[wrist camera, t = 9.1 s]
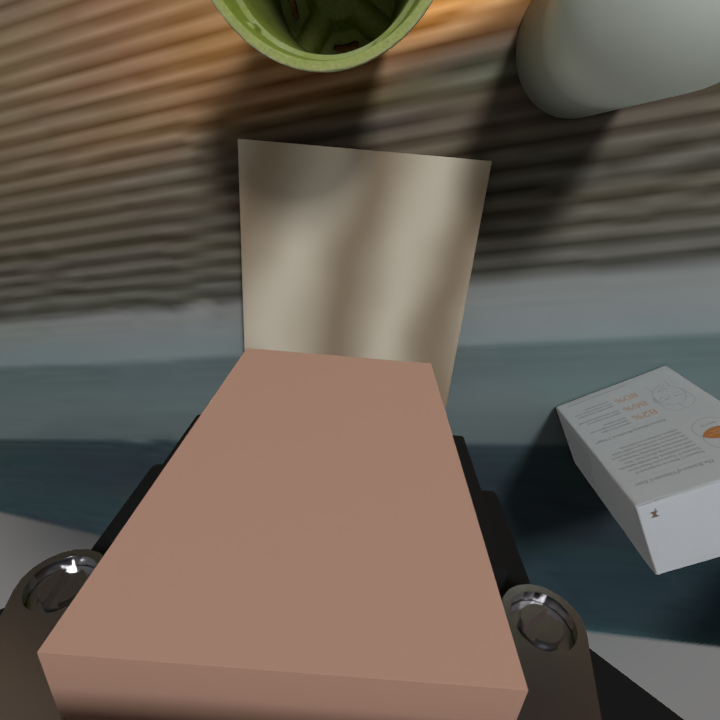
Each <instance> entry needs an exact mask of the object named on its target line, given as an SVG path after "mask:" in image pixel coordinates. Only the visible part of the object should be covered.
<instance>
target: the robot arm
mask: <svg viewBox="0 0 720 720" xmlns="http://www.w3.org/2000/svg"><path fill="white" fill-rule="evenodd" d="M200 416H201V415H197V416H196V418H195V419H194V420H193V422H192V423H191V425H190V426H189V428H188V429H187V430H186V432H185V433H184V435H183V436H182V438H181V439H180V440H179V442H178V443H177V445H176V446H175V447H174V449H173V450H172V452H171V453H170V455H169V456H168V457H167V459H166V460H165V462H164V463H163V465H162V464H157V465H154V466H153V467H152V468H151V469H150V470H149V472H148V473H147V474H146V476H145V477H144V478H143V480H142V481H141V482H140V484H139V485H138V487H137V488H136V489H135V491H134V492H133V493H132V495H131V496H130V497H129V499H128V500H127V502H126V503H125V504H124V506H123V507H122V508H121V510H120V511H119V512H118V514H117V515H116V517H115V518H114V519H113V521H112V522H111V523H110V525H109V526H108V527H107V529H106V530H105V532H104V533H103V534H102V536H101V537H100V538H99V540H98V541H97V542H96V544H95V545H94V547H93V548H92V549H91V550H89V549H84V550H83V549H80V550H72V551H67V552H63V553H60V554H58V555H55V556H53V557H50V558H48V559H46V560H45V561H43V562H41V563H40V564H38V565H37V566H35V567H34V568H33V569H31V570H30V571H29V572H28V573H27V574H26V575H25V576H24V577H23V578H22V579H21V580H20V582H19V583H18V584H17V586H16V587H15V589H14V590H13V592H12V594H11V596H10V598H9V600H8V602H7V604H6V606H5V608H3V609H1V610H0V720H66V717H60V715H59V712H58V709H57V707H56V704H55V701H54V698H53V695H52V693H51V690H50V687H49V684H48V682H47V679H46V676H45V673H44V671H43V668H42V665H41V662H40V660H39V657H38V654H37V652H38V650H39V649H40V647H41V646H42V644H43V643H44V642H45V640H46V639H47V637H48V636H49V634H50V633H51V631H52V630H53V629H54V627H55V626H56V624H57V623H58V621H59V620H60V618H61V617H62V615H63V614H64V613H65V611H66V610H67V608H68V607H69V605H70V604H71V602H72V601H73V600H74V598H75V597H76V595H77V594H78V592H79V591H80V589H81V588H82V586H83V585H84V584H85V582H86V581H87V579H88V578H89V576H90V575H91V573H92V572H93V571H94V569H95V568H96V566H97V565H98V563H99V562H100V560H101V559H102V558H103V556H104V555H105V553H106V552H107V550H108V549H109V547H110V546H111V544H112V543H113V542H114V540H115V539H116V537H117V536H118V534H119V533H120V531H121V530H122V529H123V527H124V526H125V524H126V523H127V521H128V520H129V518H130V517H131V516H132V514H133V513H134V511H135V510H136V508H137V507H138V505H139V504H140V502H141V501H142V500H143V498H144V497H145V495H146V494H147V492H148V491H149V489H150V488H151V487H152V485H153V484H154V482H155V481H156V479H157V478H158V476H159V475H160V474H161V472H162V471H163V469H164V468H165V466H166V465H167V463H168V462H169V460H170V459H171V458H172V456H173V455H174V453H175V452H176V450H177V449H178V447H179V446H180V445H181V443H182V442H183V440H184V439H185V437H186V436H187V434H188V433H189V431H190V430H191V429H192V427H193V426H194V424H195V423H196V421H197V420H198V418H199V417H200ZM452 436H453V439H454V442H455V446H456V449H457V452H458V456H459V459H460V462H461V466H462V469H463V473H464V476H465V479H466V483H467V486H468V489H469V493H470V496H471V499H472V503H473V506H474V509H475V513H476V516H477V520H478V523H479V526H480V530H481V533H482V536H483V540H484V543H485V546H486V550H487V553H488V557H489V560H490V563H491V567H492V570H493V573H494V577H495V580H496V583H497V587H498V590H499V593H500V597H501V600H502V604H503V607H504V610H505V614H506V617H507V620H508V624H509V627H510V630H511V634H512V637H513V640H514V644H515V647H516V651H517V654H518V657H519V661H520V664H521V667H522V671H523V674H524V677H525V681H526V684H527V688H528V693H527V695H526V698H525V700H524V703H523V705H522V708H521V710H520V713H519V715H518V717H517V720H683V719H682V718H681V717H679V716H678V715H677V714H675V713H674V712H673V711H671V710H670V709H669V708H667V707H666V706H665V705H664V704H662V703H661V702H659V701H658V700H657V699H656V698H654V697H653V696H652V695H650V694H649V693H648V692H646V691H645V690H644V689H642V688H641V687H640V686H638V685H637V684H636V683H634V682H633V681H632V680H630V679H629V678H628V677H627V676H625V675H624V674H622V673H621V672H620V671H618V670H617V669H616V668H615V667H613V666H612V665H611V664H609V663H608V662H607V661H605V660H604V659H603V658H601V657H600V656H599V655H597V654H596V653H595V652H593V651H592V650H591V649H590V648H589V644H588V638H587V633H586V630H585V627H584V624H583V622H582V620H581V619H580V617H579V615H578V614H577V612H576V611H575V610H574V609H573V608H572V607H571V606H570V605H569V604H568V603H567V602H566V601H565V600H564V599H563V598H561V597H560V596H559V595H557V594H556V593H554V592H553V591H550V590H548V589H546V588H543V587H541V586H536V585H531V584H530V582H529V579H528V576H527V574H526V571H525V569H524V566H523V563H522V561H521V558H520V555H519V553H518V550H517V547H516V545H515V542H514V539H513V537H512V534H511V532H510V529H509V526H508V524H507V521H506V518H505V516H504V513H503V510H502V508H501V505H500V502H499V500H498V497H497V495H496V494H495V493H494V492H493V491H483V490H481V488H480V485H479V482H478V479H477V476H476V473H475V470H474V467H473V464H472V461H471V458H470V456H469V453H468V450H467V447H466V444H465V441H464V438H463V437H462V436H454V435H452Z"/></svg>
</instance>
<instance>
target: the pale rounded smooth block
mask: <svg viewBox="0 0 720 720" xmlns="http://www.w3.org/2000/svg"><path fill="white" fill-rule="evenodd" d="M516 67H517V72H518V77H519V80H520V83H521V86H522V88H523V90H524V91H525V93H526V95H527V96H528V98H529V99H530V100H531V102H532V103H533V104H534V105H535V106H536V107H538V108H539V109H540V110H542V111H543V112H545V113H547V114H549V115H552V116H554V117H558V118H564V119H576V118H583V117H587V116H591V115H596V114H600V113H604V112H608V111H613V110H617V109H621V108H626V107H630V106H634V105H638V104H643V103H647V102H651V101H656V100H660V99H664V98H668V97H673V96H677V95H681V94H686V93H690V92H694V91H697V90H701V89H704V88H707V87H709V86H711V85H714V84H716V83H718V82H720V0H532V1H531V3H530V4H529V6H528V8H527V10H526V12H525V14H524V16H523V19H522V22H521V25H520V28H519V32H518V37H517V43H516Z"/></svg>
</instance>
